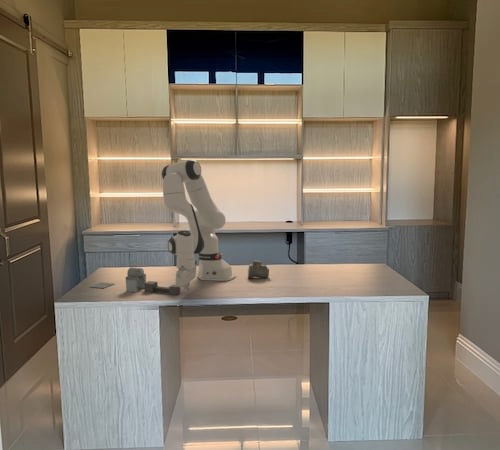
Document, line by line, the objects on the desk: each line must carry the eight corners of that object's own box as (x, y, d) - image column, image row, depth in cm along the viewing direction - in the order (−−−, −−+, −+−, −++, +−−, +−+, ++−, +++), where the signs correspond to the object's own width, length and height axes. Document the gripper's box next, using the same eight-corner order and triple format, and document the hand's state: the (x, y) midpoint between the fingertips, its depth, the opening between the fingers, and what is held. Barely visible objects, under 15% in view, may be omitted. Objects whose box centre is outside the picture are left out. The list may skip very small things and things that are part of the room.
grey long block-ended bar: (180, 292, 224) (180, 284, 223) (176, 295, 219) (175, 286, 219) (147, 289, 231) (146, 280, 230) (142, 291, 227) (141, 282, 226)
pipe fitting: (247, 279, 247) (249, 261, 247) (246, 276, 255) (248, 259, 255) (268, 281, 247) (270, 263, 247) (267, 278, 255) (269, 261, 255)
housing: (146, 287, 234) (145, 266, 232) (136, 292, 225) (135, 270, 224) (136, 286, 236) (135, 265, 234) (126, 291, 227) (125, 269, 226)
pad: (114, 284, 241) (114, 283, 241) (103, 288, 233) (103, 287, 233) (101, 283, 244) (101, 282, 244) (89, 287, 236) (89, 286, 236)
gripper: (184, 269, 207) (185, 297, 209) (198, 260, 227) (198, 286, 229) (171, 268, 208) (172, 297, 210) (186, 259, 228) (187, 285, 230)
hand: (186, 291), depth 220 cm, fingers closed
